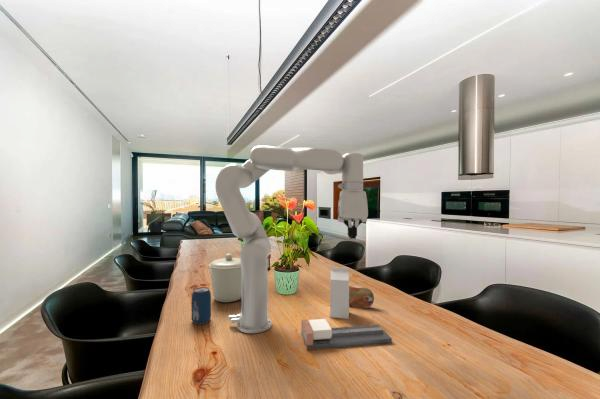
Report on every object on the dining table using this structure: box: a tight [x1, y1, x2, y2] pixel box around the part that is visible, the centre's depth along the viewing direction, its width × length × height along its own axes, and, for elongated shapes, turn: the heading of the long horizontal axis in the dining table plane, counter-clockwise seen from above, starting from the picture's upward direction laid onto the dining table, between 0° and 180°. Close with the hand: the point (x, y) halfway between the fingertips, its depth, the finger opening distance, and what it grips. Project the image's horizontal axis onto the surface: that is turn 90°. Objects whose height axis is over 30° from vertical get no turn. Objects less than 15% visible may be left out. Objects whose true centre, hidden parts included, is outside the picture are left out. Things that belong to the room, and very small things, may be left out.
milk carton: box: [329, 266, 350, 320], centre depth 112 cm, size 7×7×19 cm
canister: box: [208, 252, 242, 303], centre depth 130 cm, size 18×18×21 cm
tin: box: [349, 285, 375, 309], centre depth 122 cm, size 15×3×8 cm, turn 68°
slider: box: [307, 318, 332, 340], centre depth 91 cm, size 6×8×4 cm
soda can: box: [191, 286, 212, 325], centre depth 106 cm, size 7×7×12 cm
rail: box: [301, 319, 393, 351], centre depth 93 cm, size 28×10×5 cm, turn 99°
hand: (352, 238), depth 101 cm, fingers closed
